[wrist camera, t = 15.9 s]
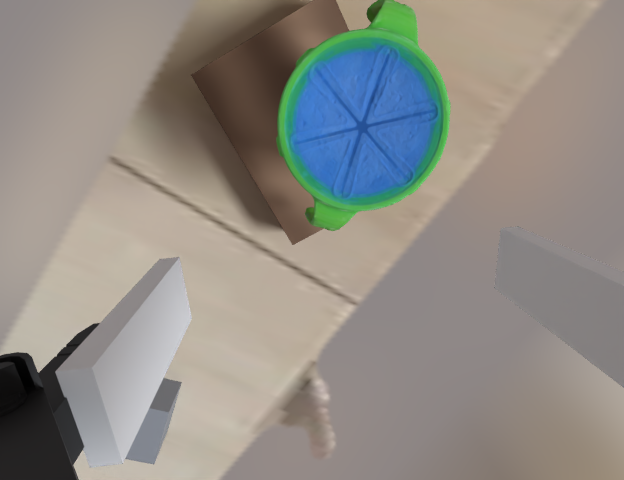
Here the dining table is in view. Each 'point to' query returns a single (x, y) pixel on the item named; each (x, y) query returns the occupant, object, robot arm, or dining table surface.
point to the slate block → (155, 424)
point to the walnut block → (268, 103)
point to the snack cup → (363, 117)
